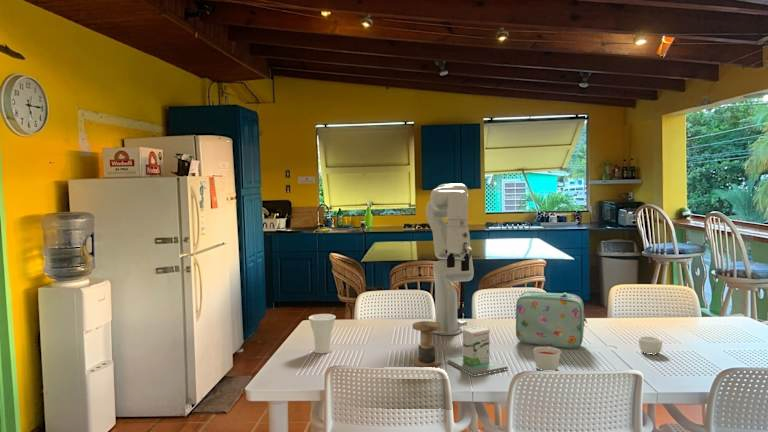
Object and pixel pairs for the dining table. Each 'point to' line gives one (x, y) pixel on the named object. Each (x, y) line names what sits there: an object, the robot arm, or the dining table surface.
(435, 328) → the bobbin
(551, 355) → the candle
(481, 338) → the ink box
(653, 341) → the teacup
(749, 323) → the dining table surface
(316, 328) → the cup
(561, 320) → the lunch box
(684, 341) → the dining table surface
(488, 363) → the board
